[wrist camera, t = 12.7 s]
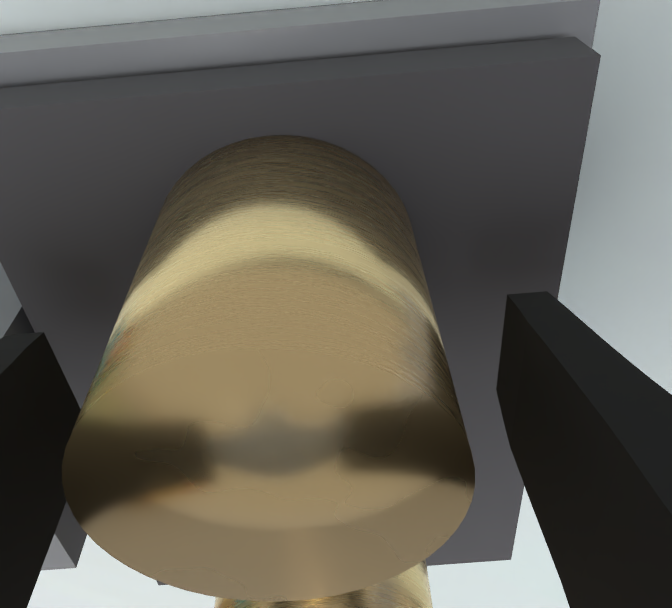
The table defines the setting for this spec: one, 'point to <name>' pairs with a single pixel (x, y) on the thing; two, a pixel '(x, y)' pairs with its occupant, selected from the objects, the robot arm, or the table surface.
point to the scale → (258, 49)
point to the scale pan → (341, 130)
